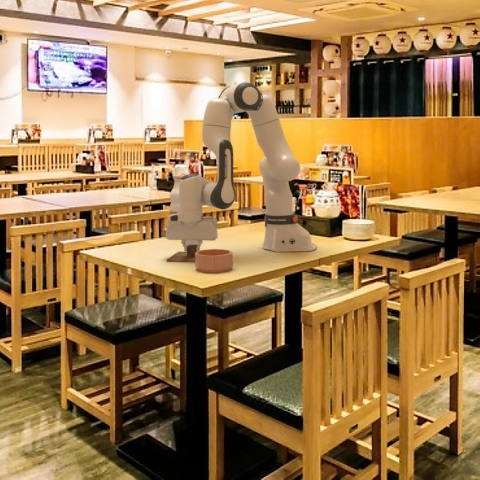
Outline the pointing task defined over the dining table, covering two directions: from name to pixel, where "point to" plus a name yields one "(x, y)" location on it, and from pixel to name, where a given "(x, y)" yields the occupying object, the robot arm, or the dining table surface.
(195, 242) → the flask
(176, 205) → the fruit juice
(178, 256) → the lid
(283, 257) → the dining table surface
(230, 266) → the bowl
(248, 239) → the dining table surface
